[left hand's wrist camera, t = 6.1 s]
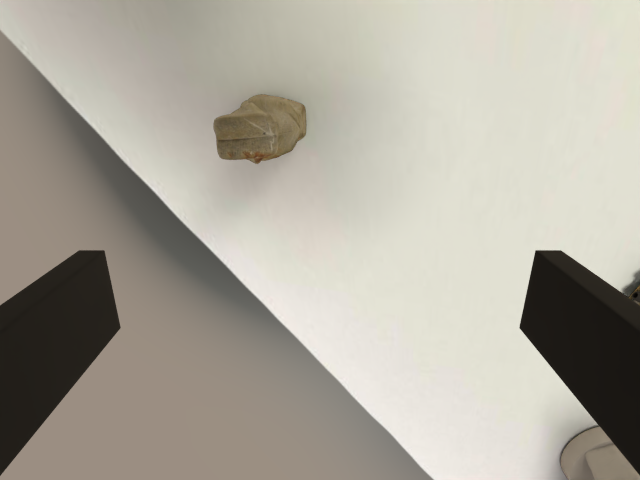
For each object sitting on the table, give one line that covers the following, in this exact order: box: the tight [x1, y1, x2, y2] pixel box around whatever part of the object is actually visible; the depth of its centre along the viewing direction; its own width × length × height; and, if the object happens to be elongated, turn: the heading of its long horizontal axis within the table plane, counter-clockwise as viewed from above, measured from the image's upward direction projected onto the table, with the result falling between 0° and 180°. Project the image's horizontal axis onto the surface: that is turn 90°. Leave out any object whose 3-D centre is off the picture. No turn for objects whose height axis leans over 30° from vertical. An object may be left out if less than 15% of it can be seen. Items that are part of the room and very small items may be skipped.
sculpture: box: [214, 94, 306, 164], centre depth 38 cm, size 6×7×15 cm
